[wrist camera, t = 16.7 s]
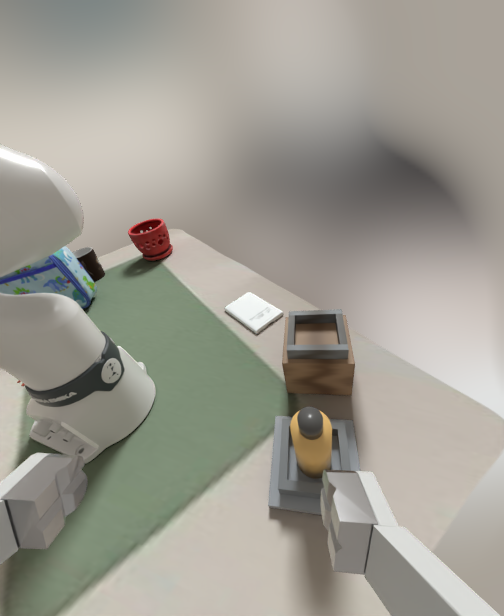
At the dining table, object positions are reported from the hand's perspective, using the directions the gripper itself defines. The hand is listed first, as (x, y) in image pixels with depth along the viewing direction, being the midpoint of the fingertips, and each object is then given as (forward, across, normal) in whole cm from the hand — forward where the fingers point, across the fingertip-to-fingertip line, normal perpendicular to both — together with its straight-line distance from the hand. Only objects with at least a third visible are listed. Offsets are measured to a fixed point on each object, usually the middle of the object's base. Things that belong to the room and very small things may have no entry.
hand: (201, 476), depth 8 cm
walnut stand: (+34, -12, +13) cm, 38 cm away
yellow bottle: (+20, -9, +19) cm, 30 cm away
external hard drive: (+51, 0, +9) cm, 52 cm away
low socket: (+21, -9, +20) cm, 31 cm away
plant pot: (+90, +39, -3) cm, 98 cm away
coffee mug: (+81, +60, +5) cm, 101 cm away
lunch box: (+65, +62, +14) cm, 90 cm away
